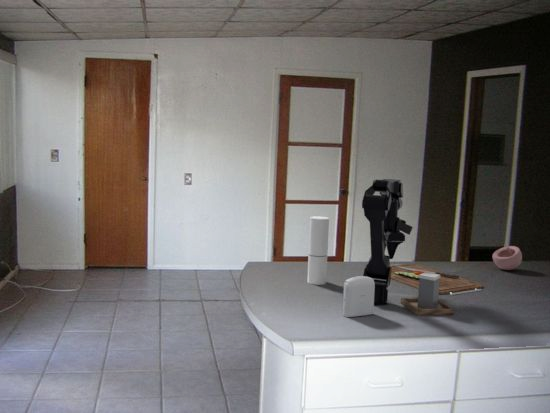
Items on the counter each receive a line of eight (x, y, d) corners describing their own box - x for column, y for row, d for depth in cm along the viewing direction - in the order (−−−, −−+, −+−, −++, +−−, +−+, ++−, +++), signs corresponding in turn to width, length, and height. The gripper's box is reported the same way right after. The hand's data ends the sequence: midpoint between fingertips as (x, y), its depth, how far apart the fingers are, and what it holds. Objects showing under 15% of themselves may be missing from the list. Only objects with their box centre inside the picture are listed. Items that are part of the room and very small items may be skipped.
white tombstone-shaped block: (347, 318, 172) (349, 279, 170) (340, 314, 175) (342, 276, 174) (375, 315, 176) (377, 277, 174) (367, 311, 180) (370, 273, 178)
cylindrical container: (326, 280, 216) (329, 216, 213) (325, 285, 209) (329, 219, 206) (307, 279, 217) (310, 215, 214) (306, 284, 210) (309, 218, 207)
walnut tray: (415, 315, 177) (415, 309, 177) (400, 303, 190) (400, 297, 190) (453, 314, 179) (453, 309, 179) (436, 302, 192) (436, 297, 191)
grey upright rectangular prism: (432, 310, 180) (434, 277, 179) (417, 307, 183) (419, 274, 182) (437, 307, 185) (440, 274, 183) (422, 303, 188) (425, 272, 186)
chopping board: (361, 270, 238) (361, 263, 237) (407, 265, 251) (408, 258, 251) (441, 298, 199) (441, 289, 199) (491, 290, 213) (491, 282, 212)
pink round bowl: (485, 267, 250) (487, 242, 249) (507, 266, 254) (509, 241, 252) (504, 273, 239) (506, 247, 237) (526, 272, 242) (529, 246, 241)
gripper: (420, 218, 193) (417, 262, 195) (401, 210, 211) (399, 251, 213) (389, 217, 191) (387, 261, 193) (373, 210, 210) (370, 250, 212)
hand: (386, 256), depth 203 cm, fingers open, 9 cm apart
